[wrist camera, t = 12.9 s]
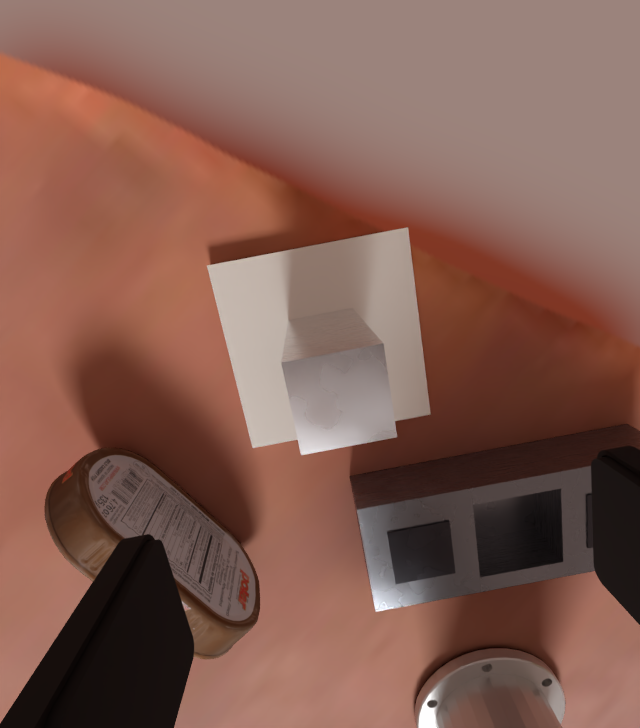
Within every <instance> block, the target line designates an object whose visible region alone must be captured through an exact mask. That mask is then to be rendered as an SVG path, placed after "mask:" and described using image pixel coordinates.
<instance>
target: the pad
mask: <svg viewBox="0 0 640 728" xmlns="http://www.w3.org/2000/svg"><path fill="white" fill-rule="evenodd" d="M207 268H208V272H209V276H210V280H211V284H212V288H213V292H214V296H215V300H216V304H217V308H218V312H219V316H220V320H221V324H222V328H223V332H224V336H225V339H226V343H227V347H228V351H229V355H230V359H231V363H232V367H233V371H234V375H235V379H236V383H237V387H238V391H239V395H240V399H241V403H242V407H243V411H244V415H245V419H246V423H247V427H248V431H249V435H250V439H251V443H252V447H253V448H256V447H261V446H266V445H272V444H277V443H282V442H288V441H293V440H298V438H297V434H296V429H295V424H294V420H293V415H292V411H291V406H290V401H289V397H288V392H287V387H286V383H285V378H284V374H283V369H282V364H281V361H282V355H283V349H284V343H285V337H286V331H287V325H288V320H291V319H296V318H302V317H307V316H312V315H318V314H323V313H328V312H333V311H339V310H344V309H349V308H353V309H354V310H355V311H356V312H357V314H358V315H359V316H360V317H361V318H362V319H363V320H364V322H365V323H366V324H367V325H368V326H369V327H370V328H371V330H372V331H373V332H374V333H375V334H376V335H377V336H378V338H379V339H380V340H381V341H382V342H383V343H384V350H385V357H386V364H387V370H388V377H389V384H390V391H391V398H392V405H393V412H394V419H395V421H399V420H404V419H409V418H415V417H420V416H425V415H431V413H430V405H429V397H428V388H427V380H426V372H425V364H424V355H423V347H422V339H421V331H420V322H419V314H418V306H417V298H416V289H415V281H414V273H413V264H412V256H411V248H410V240H409V231H408V227H407V228H402V229H396V230H391V231H386V232H380V233H375V234H370V235H365V236H359V237H354V238H349V239H344V240H338V241H333V242H328V243H323V244H318V245H312V246H307V247H302V248H297V249H291V250H286V251H281V252H276V253H270V254H265V255H260V256H255V257H249V258H244V259H239V260H234V261H229V262H223V263H218V264H213V265H208V266H207Z"/></svg>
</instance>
